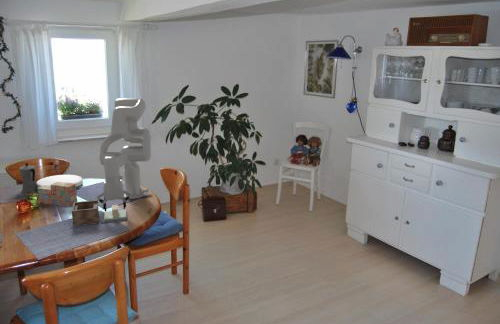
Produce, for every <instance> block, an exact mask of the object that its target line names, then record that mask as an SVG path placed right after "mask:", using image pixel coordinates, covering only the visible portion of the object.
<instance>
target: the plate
mask: <svg viewBox="0 0 500 324" xmlns="http://www.w3.org/2000/svg"><path fill="white" fill-rule="evenodd" d="M83 181H84V180H83V177H82V176H79V175H76V174H57V175H50V176H46V177H43V178H41V179H39V180H37V181H36V185H37V188H40V187H42V186H44V185H47V186H50V185H51V184H53V183H55V182H67V183H74V184H76V188H77V187H79V186H81V185H82V184H83V183H84V182H83Z"/></svg>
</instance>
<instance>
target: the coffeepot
mask: <svg viewBox="0 0 500 324" xmlns="http://www.w3.org/2000/svg"><path fill="white" fill-rule="evenodd" d="M24 164H25V165H23V166H20V167H19V168H18V169H19V172H20V175H21V179H22V192H23V193H26V192H27V193H34V192H38V189H37V188H38V187H37V181H36V178H35V177H36V166H35V165H29V163H28V162H25V163H24Z"/></svg>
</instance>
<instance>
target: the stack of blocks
mask: <svg viewBox="0 0 500 324" xmlns="http://www.w3.org/2000/svg"><path fill="white" fill-rule="evenodd" d="M37 189H38V190H37V194H38V196H37V197H38V202H39V204H45V205H56V206H63V207H69V208H70V207H73V204H74V202H78V197H77V194H78V193H77V187H76V184H74V183H67V182H55V183H53V184H51V185H50V186H47V185H44V186H42V187H40V188H39V187H37Z"/></svg>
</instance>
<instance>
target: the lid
mask: <svg viewBox="0 0 500 324" xmlns="http://www.w3.org/2000/svg"><path fill="white" fill-rule="evenodd" d="M104 212H105V216H104V220H105V221H108V220H117V219H126V218H127V219H128V215H126V212H127V209H120V210H119V205H118V204H112V205H111V210H108V211H107V210H106V211H104Z"/></svg>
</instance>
